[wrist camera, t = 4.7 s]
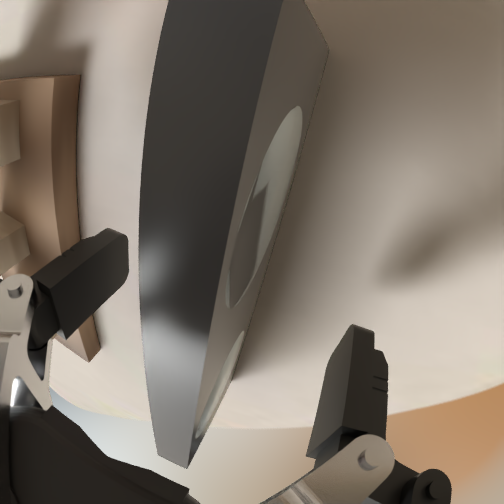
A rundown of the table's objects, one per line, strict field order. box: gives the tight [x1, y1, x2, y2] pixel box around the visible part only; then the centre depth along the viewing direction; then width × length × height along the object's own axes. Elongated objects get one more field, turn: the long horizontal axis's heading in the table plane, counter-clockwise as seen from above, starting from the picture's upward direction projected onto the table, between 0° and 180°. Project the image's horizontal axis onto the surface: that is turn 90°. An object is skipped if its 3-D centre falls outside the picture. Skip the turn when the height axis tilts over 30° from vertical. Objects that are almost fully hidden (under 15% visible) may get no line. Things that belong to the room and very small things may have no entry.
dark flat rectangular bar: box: [139, 0, 329, 469], centre depth 9 cm, size 16×2×6 cm, turn 167°
